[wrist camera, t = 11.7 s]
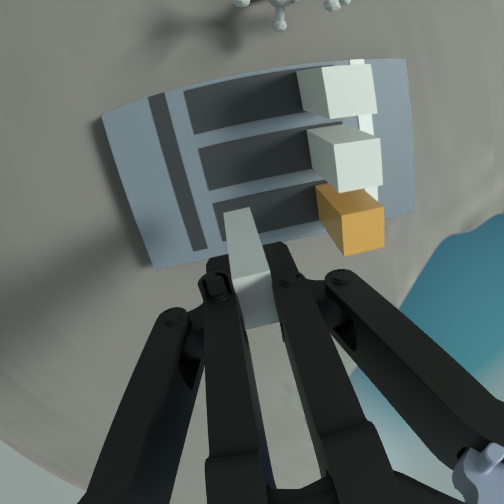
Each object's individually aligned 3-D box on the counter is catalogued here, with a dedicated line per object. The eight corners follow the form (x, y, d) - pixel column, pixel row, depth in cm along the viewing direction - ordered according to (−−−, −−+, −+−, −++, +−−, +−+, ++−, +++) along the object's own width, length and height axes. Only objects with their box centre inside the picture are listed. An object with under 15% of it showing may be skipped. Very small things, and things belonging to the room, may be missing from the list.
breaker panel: (158, 258, 29) (142, 318, 22) (109, 111, 22) (63, 126, 15) (403, 204, 29) (453, 245, 21) (393, 59, 22) (453, 58, 14)
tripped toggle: (319, 219, 26) (344, 256, 21) (315, 185, 24) (341, 215, 19) (352, 212, 26) (384, 246, 21) (350, 179, 24) (384, 206, 19)
